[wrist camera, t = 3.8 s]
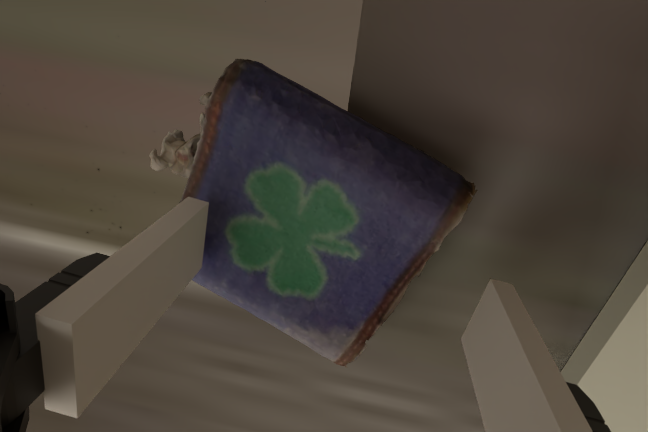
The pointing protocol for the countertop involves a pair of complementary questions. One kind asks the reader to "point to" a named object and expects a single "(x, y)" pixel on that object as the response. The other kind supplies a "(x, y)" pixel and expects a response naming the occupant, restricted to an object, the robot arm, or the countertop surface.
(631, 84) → the countertop surface
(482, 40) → the countertop surface
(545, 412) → the robot arm
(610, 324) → the beige flat panel
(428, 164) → the flask
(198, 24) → the countertop surface
